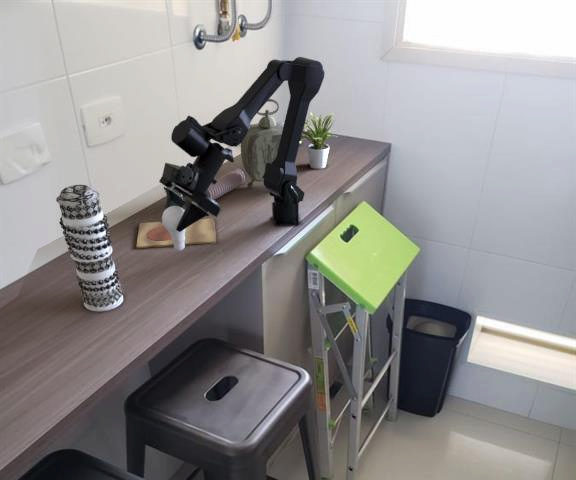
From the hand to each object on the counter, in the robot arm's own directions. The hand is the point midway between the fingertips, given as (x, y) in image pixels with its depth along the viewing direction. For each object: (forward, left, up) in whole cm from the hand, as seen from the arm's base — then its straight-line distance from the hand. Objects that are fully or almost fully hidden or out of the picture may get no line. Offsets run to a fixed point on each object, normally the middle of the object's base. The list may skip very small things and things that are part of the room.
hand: (171, 226), depth 138 cm
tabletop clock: (-28, -41, -9) cm, 50 cm away
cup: (-42, -80, -9) cm, 90 cm away
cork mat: (0, -14, -8) cm, 17 cm away
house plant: (-46, -59, -9) cm, 75 cm away
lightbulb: (-1, -1, -7) cm, 7 cm away
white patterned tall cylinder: (+15, +17, -9) cm, 25 cm away
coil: (-14, -40, -9) cm, 43 cm away
